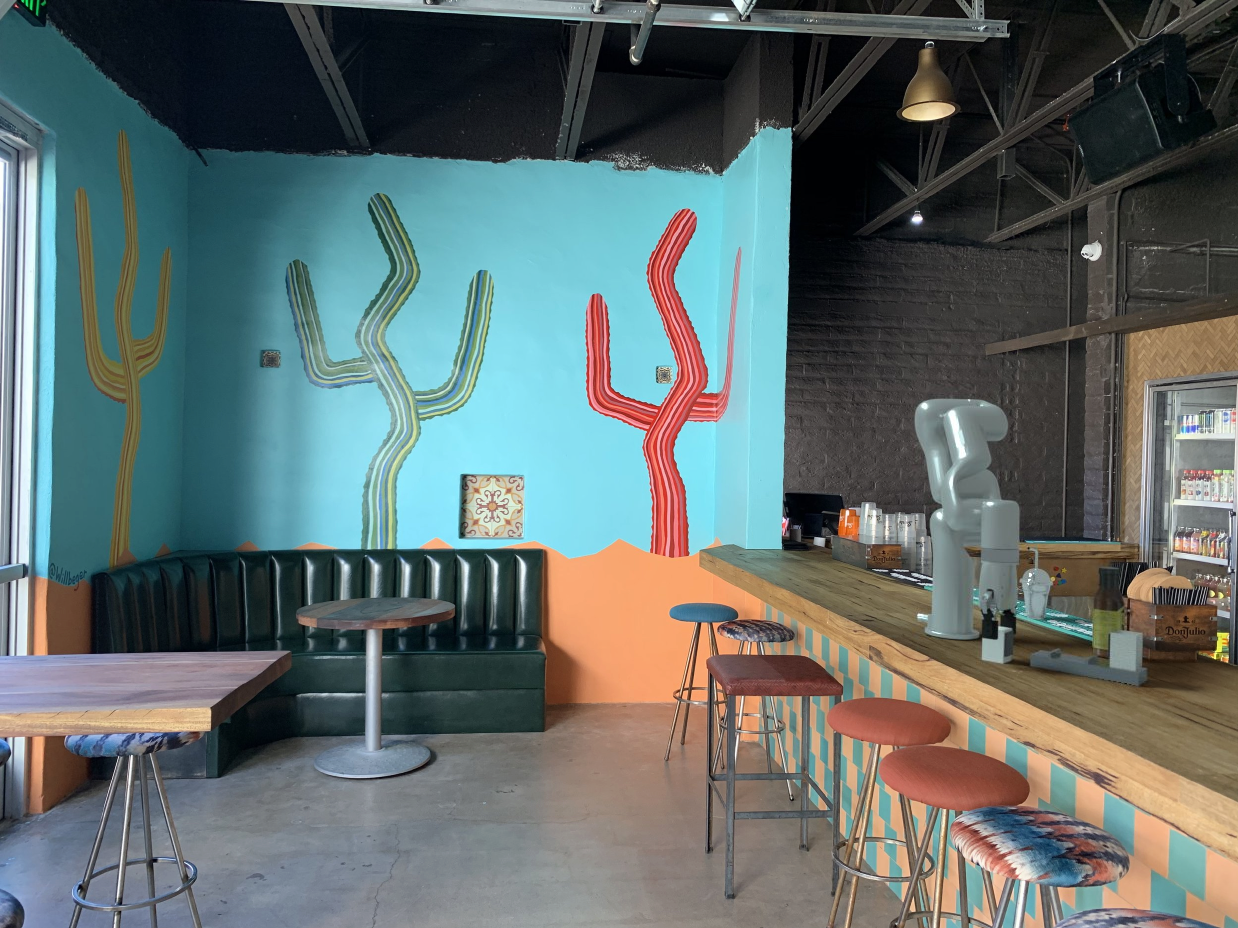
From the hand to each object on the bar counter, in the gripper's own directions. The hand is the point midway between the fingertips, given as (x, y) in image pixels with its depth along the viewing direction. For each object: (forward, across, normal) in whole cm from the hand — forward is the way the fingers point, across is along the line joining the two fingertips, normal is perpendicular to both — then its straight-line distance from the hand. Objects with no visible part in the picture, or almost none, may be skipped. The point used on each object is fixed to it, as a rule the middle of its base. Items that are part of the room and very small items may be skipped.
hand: (999, 636), depth 181 cm
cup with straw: (+3, -60, -14) cm, 61 cm away
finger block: (+5, -1, -1) cm, 5 cm away
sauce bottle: (+5, -25, +14) cm, 29 cm away
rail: (+6, -4, +16) cm, 18 cm away
